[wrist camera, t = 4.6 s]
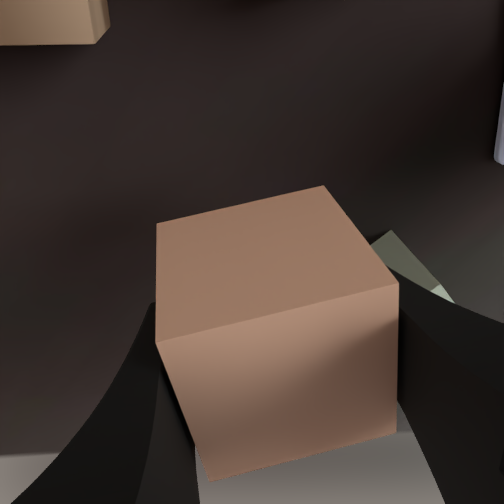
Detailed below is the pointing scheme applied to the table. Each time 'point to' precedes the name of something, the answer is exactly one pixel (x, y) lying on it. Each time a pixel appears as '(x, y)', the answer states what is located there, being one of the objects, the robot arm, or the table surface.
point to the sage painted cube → (406, 263)
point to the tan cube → (52, 21)
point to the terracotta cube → (276, 331)
